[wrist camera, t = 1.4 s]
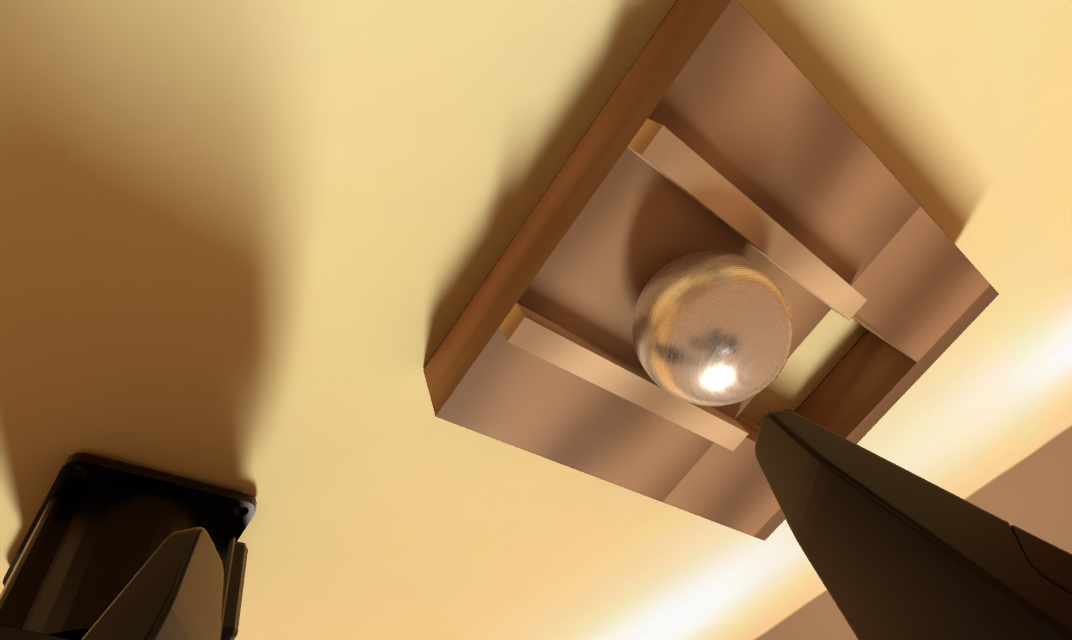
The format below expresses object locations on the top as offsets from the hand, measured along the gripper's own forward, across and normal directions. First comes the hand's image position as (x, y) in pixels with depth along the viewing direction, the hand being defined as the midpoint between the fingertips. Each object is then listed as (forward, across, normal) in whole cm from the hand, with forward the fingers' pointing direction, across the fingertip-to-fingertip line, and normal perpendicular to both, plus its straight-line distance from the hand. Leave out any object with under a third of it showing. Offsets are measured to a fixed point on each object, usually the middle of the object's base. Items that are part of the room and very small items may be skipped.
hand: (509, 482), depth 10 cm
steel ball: (+8, -8, +4) cm, 12 cm away
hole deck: (+13, -12, +7) cm, 19 cm away
